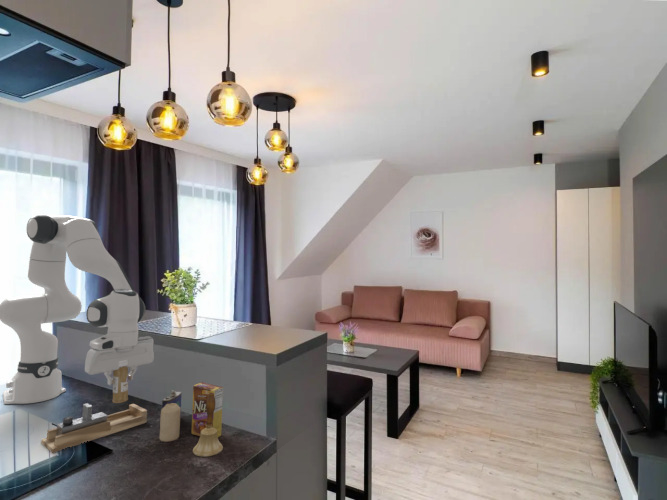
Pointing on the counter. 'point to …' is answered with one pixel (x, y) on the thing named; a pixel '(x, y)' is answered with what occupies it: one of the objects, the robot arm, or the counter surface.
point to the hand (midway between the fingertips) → (120, 382)
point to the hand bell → (208, 433)
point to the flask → (173, 399)
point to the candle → (170, 422)
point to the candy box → (199, 407)
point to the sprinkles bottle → (120, 383)
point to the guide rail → (96, 429)
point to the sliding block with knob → (81, 421)
